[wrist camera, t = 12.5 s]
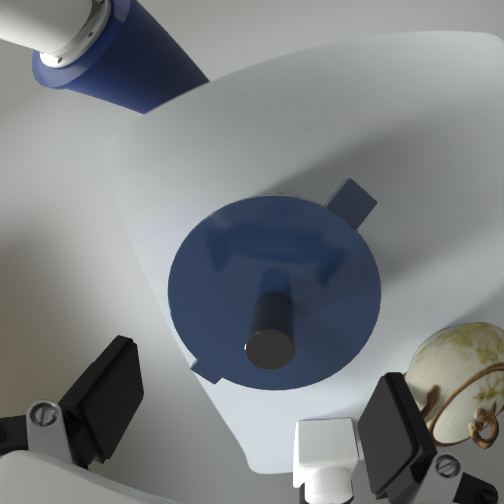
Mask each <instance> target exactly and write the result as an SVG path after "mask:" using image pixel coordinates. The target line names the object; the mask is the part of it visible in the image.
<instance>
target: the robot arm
mask: <svg viewBox="0 0 504 504" xmlns="http://www.w3.org/2000/svg"><path fill="white" fill-rule="evenodd" d="M110 13H111V2H110V0H0V39H3V40H7V41H10V42H13V43H17V44H20V45H23V46H26V47H29V48H32V49H35V50H38V51H40V57H41V60H42V62H43V63H44V64H45V65H47V66H49V67H53V68H59V67H63V66H66V65H68V64H70V63H72V62H74V61H75V60H76V59H78V58H79V57H80V56H81V55H83V54H84V53H85V52H86V51H87V50H88V49H89V48H90V47H91V46H92V45H93V44H94V42H95V41H96V40H97V38H98V37H99V36H100V34H101V33H102V31H103V29H104V28H105V26H106V24H107V22H108V19H109V16H110ZM143 396H144V390H143V384H142V378H141V371H140V364H139V357H138V349H137V344H136V343H134V342H133V339H131V338H127V337H124V336H120V335H118V336H117V337H116V338H115V339H114V340H113V341H112V342H111V343H110V344H109V346H108V347H107V348H106V349H105V350H104V351H103V352H102V354H101V355H100V356H99V357H98V358H97V359H96V361H95V362H93V363H91V364H90V366H89V367H88V368H87V369H86V370H85V371H84V373H83V374H82V375H81V376H80V377H79V378H78V380H77V381H76V382H75V383H74V384H73V386H72V387H71V388H70V389H69V390H68V392H67V393H66V394H65V395H64V396H63V398H62V399H61V400H60V401H59V403H58V404H57V403H55V402H54V401H51V400H48V399H42V400H37V401H35V402H34V403H32V404H31V405H30V406H29V407H28V409H27V412H26V415H22V416H14V417H5V418H0V504H184V503H180V502H176V501H172V500H168V499H165V498H161V497H158V496H154V495H151V494H148V493H145V492H142V491H139V490H136V489H133V488H131V487H128V486H125V485H122V484H120V483H117V482H114V481H112V480H109V479H107V478H104V477H102V476H100V475H97V474H95V473H93V472H92V471H91V468H90V464H91V462H92V460H95V461H97V462H99V463H102V464H103V463H104V461H105V460H106V459H110V458H111V456H112V455H113V453H114V451H115V449H116V447H117V445H118V443H119V441H120V440H121V438H122V436H123V434H124V432H125V430H126V429H127V427H128V425H129V423H130V421H131V419H132V418H133V416H134V414H135V412H136V410H137V408H138V407H139V405H140V403H141V401H142V399H143ZM358 431H359V435H360V439H361V444H362V448H363V453H364V458H365V462H366V467H367V472H368V477H369V482H370V488H371V492H372V493H373V494H375V495H376V500H377V499H383V498H388V500H389V504H504V501H502V500H500V501H499V502H498V492H497V490H496V488H495V487H494V486H493V485H491V484H489V483H487V482H485V481H482V480H480V479H478V478H475V477H473V476H471V475H469V474H466V473H464V472H463V470H464V465H463V461H462V460H461V458H460V457H459V456H458V455H457V454H455V453H453V452H450V451H443V452H440V453H437V451H436V446H435V444H434V442H433V439H432V437H431V435H430V432H429V430H428V428H427V425H426V423H425V421H424V419H423V417H422V414H421V412H420V410H419V408H418V406H417V404H416V402H415V399H414V397H413V395H412V393H411V391H410V389H409V387H408V385H407V383H406V381H405V379H404V377H403V375H402V374H401V373H400V372H388V373H386V374H385V375H384V376H382V377H381V378H380V380H379V382H378V384H377V386H376V388H375V390H374V392H373V394H372V396H371V398H370V400H369V402H368V404H367V406H366V408H365V410H364V412H363V414H362V416H361V417H360V419H359V422H358Z"/></svg>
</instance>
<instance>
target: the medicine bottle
mask: <svg viewBox="0 0 504 504" xmlns="http://www.w3.org/2000/svg"><path fill="white" fill-rule="evenodd" d="M358 460H359V453H358V448H357V443H356V438H355V433H354V428H353V423H352V419H351V418H339V419H325V420H302V421H297V424H296V434H295V443H294V476H293V486H294V487H295V488H300V499H299V500H300V501H299V504H350V503H351V502H352V500H353V499H354V497H353V488H352V481H351V476H352V473H353V471H354V469H355V467H356V464H357V462H358Z"/></svg>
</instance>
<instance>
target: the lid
mask: <svg viewBox="0 0 504 504" xmlns="http://www.w3.org/2000/svg"><path fill="white" fill-rule="evenodd" d="M380 302H381V283H380V277H379V272H378V268H377V265H376V263H375V260H374V257H373V255H372V253H371V251H370V249H369V247H368V246H367V244H366V242H365V241H364V240H363V238H362V237H361V236H360V234H359V233H358V232H357V231H356V230H355V229H354V228H353V227H352V226H351V225H350V224H349V223H348V222H347V221H345V220H344V219H343V218H341V217H340V216H339V215H337V214H336V213H335V212H333V211H331V210H329V209H328V208H326V207H324V206H322V205H320V204H317V203H315V202H312V201H309V200H306V199H302V198H297V197H293V196H284V195H264V196H255V197H250V198H246V199H242V200H239V201H236V202H233V203H231V204H228V205H226V206H224V207H222V208H221V209H219V210H217V211H215V212H213V213H212V214H210V215H209V216H208V217H206V218H205V219H203V220H202V221H201V222H200V223H199V224H198V225H197V226H196V227H195V228H194V229H193V230H192V231H191V232H190V233H189V234H188V236H187V237H186V238H185V240H184V241H183V242H182V244H181V246H180V248H179V249H178V251H177V253H176V255H175V258H174V261H173V263H172V266H171V270H170V274H169V279H168V304H169V309H170V314H171V318H172V321H173V323H174V326H175V329H176V331H177V333H178V335H179V336H180V338H181V340H182V341H183V343H184V344H185V346H186V347H187V349H188V350H189V351H190V352H191V353H192V354H193V356H194V357H195V358H196V359H197V360H198V361H200V362H201V363H202V364H203V365H204V366H205V367H207V368H208V369H209V370H211V371H212V372H214V373H215V374H217V375H219V376H221V377H222V378H224V379H226V380H229V381H231V382H233V383H236V384H239V385H242V386H246V387H250V388H255V389H261V390H289V389H296V388H300V387H305V386H308V385H311V384H314V383H317V382H320V381H322V380H324V379H326V378H328V377H330V376H332V375H333V374H335V373H336V372H338V371H339V370H341V369H342V368H343V367H345V366H346V365H347V364H348V363H350V362H351V361H352V360H353V359H354V358H355V356H356V355H357V354H358V353H359V352H360V351H361V349H362V348H363V347H364V345H365V344H366V342H367V341H368V339H369V337H370V335H371V334H372V332H373V329H374V327H375V324H376V322H377V318H378V314H379V310H380Z"/></svg>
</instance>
